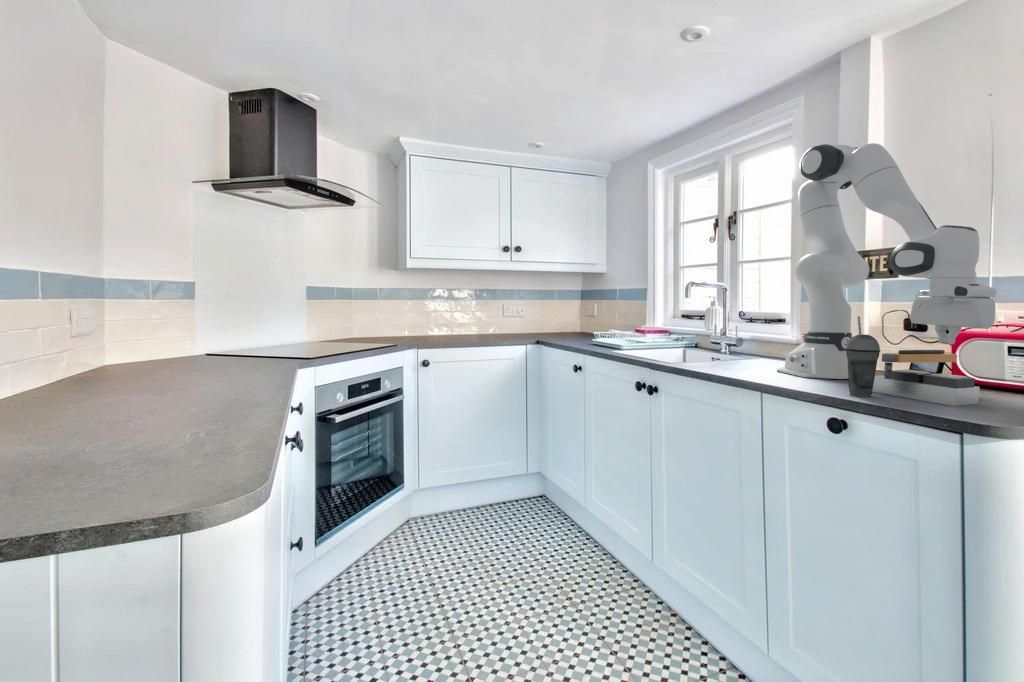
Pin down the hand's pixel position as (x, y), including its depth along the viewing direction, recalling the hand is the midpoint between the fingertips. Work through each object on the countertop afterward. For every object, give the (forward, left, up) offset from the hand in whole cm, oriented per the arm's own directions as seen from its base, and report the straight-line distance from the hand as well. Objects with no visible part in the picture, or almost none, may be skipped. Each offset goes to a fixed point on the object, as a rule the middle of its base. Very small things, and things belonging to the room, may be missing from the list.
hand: (946, 343), depth 128 cm
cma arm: (-4, -4, -5) cm, 8 cm away
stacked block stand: (+2, -12, -13) cm, 18 cm away
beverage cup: (-4, -24, -13) cm, 27 cm away
